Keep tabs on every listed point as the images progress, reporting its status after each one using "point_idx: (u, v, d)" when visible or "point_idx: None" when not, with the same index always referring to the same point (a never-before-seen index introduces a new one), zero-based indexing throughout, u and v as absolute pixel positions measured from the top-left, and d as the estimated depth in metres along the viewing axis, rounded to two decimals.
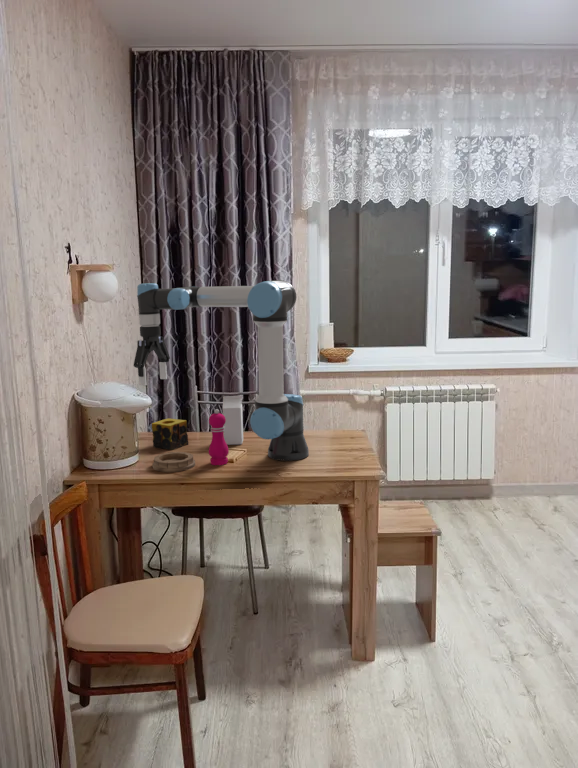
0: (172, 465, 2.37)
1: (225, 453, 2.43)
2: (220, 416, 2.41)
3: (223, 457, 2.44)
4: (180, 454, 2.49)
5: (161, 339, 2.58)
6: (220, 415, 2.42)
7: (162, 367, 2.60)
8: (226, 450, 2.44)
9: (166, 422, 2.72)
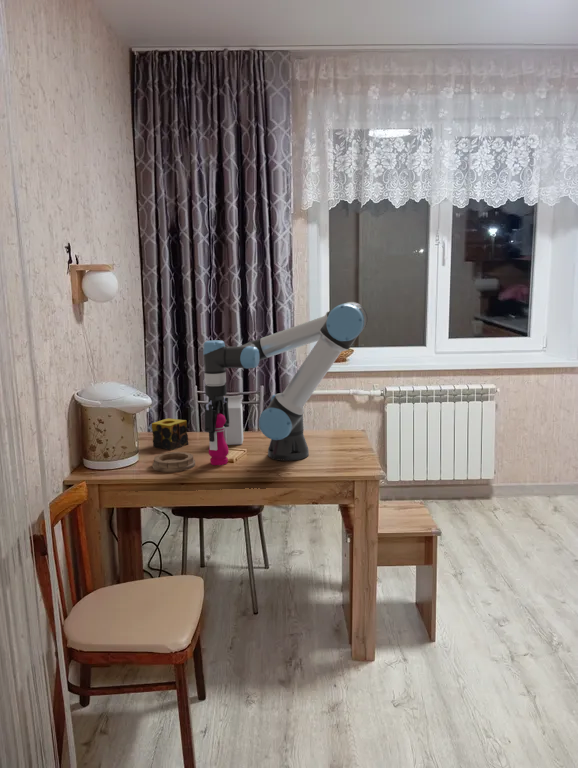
0: (172, 465, 2.37)
1: (225, 453, 2.43)
2: (220, 416, 2.41)
3: (223, 457, 2.44)
4: (180, 454, 2.49)
5: (225, 400, 2.47)
6: (220, 415, 2.42)
7: None
8: (226, 450, 2.44)
9: (166, 422, 2.72)
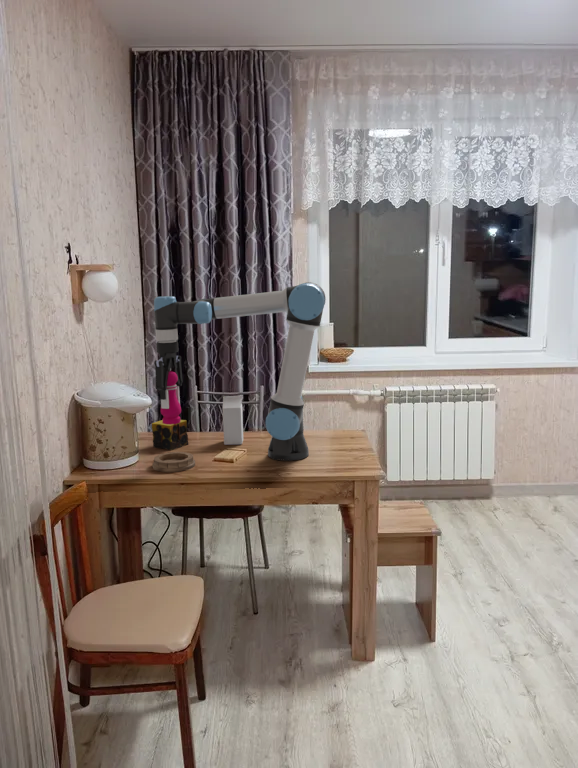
0: (172, 465, 2.37)
1: (177, 412, 2.38)
2: (172, 374, 2.37)
3: (175, 416, 2.39)
4: (180, 454, 2.49)
5: (178, 358, 2.42)
6: (172, 373, 2.37)
7: None
8: (178, 409, 2.39)
9: None
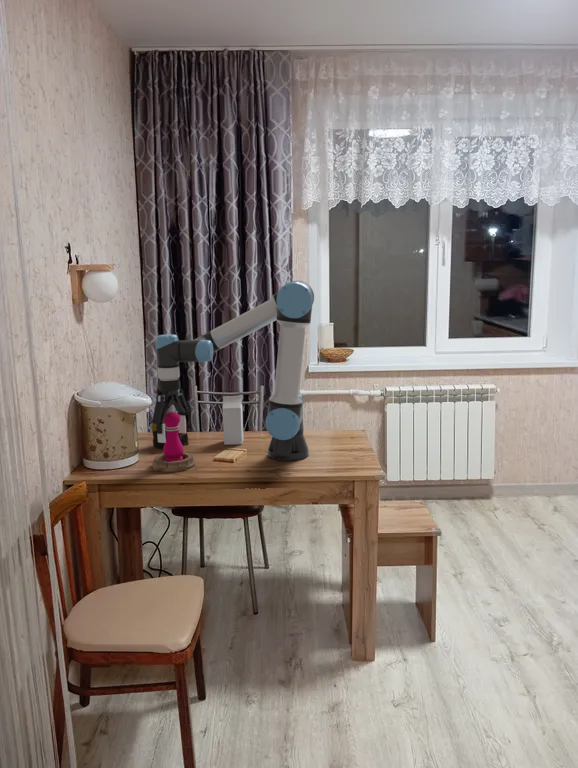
0: (172, 465, 2.37)
1: (179, 452, 2.41)
2: (174, 415, 2.39)
3: (177, 456, 2.42)
4: None
5: (180, 392, 2.45)
6: (174, 414, 2.40)
7: (181, 421, 2.47)
8: (180, 449, 2.42)
9: None
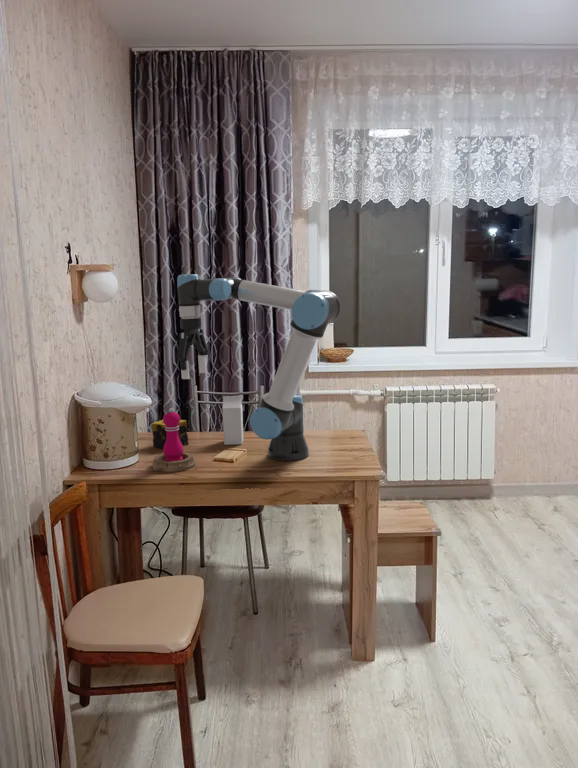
0: (172, 465, 2.37)
1: (179, 452, 2.41)
2: (174, 415, 2.39)
3: (177, 456, 2.42)
4: None
5: (200, 332, 2.51)
6: (174, 414, 2.40)
7: (201, 360, 2.54)
8: (180, 449, 2.42)
9: None
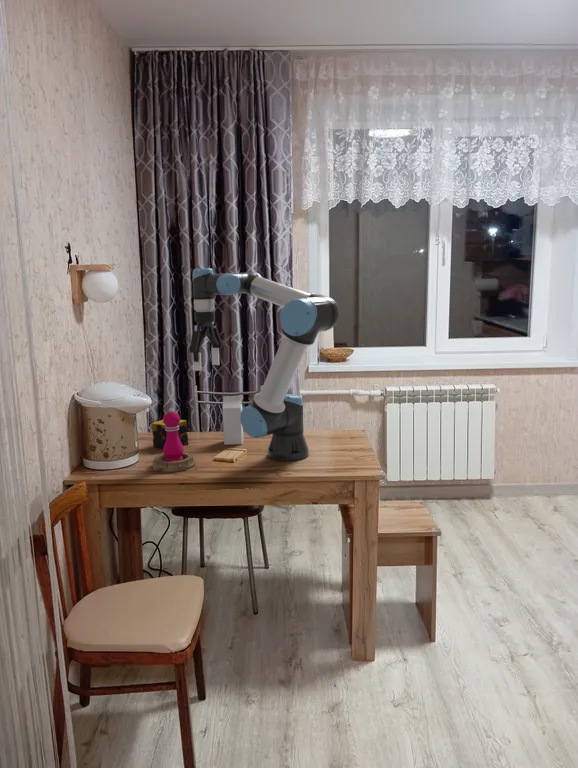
0: (172, 465, 2.37)
1: (179, 452, 2.41)
2: (174, 415, 2.39)
3: (177, 456, 2.42)
4: None
5: (214, 325, 2.57)
6: (174, 414, 2.40)
7: (215, 353, 2.60)
8: (180, 449, 2.42)
9: None
